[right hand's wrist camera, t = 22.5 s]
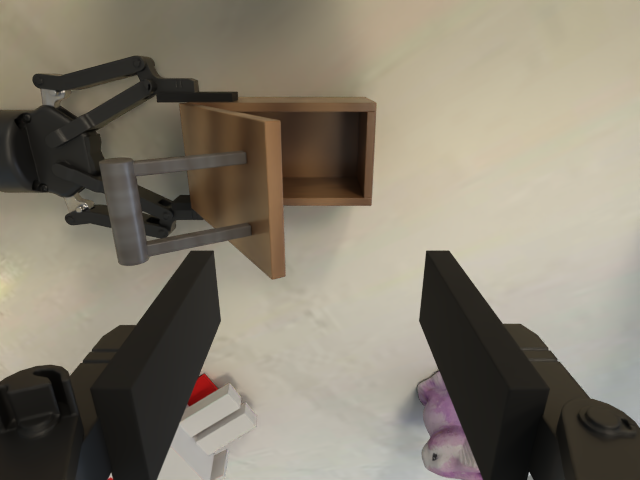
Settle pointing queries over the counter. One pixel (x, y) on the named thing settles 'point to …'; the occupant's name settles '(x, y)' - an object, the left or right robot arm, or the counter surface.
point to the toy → (206, 433)
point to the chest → (320, 146)
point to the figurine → (445, 434)
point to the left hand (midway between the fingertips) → (238, 152)
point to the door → (210, 189)
